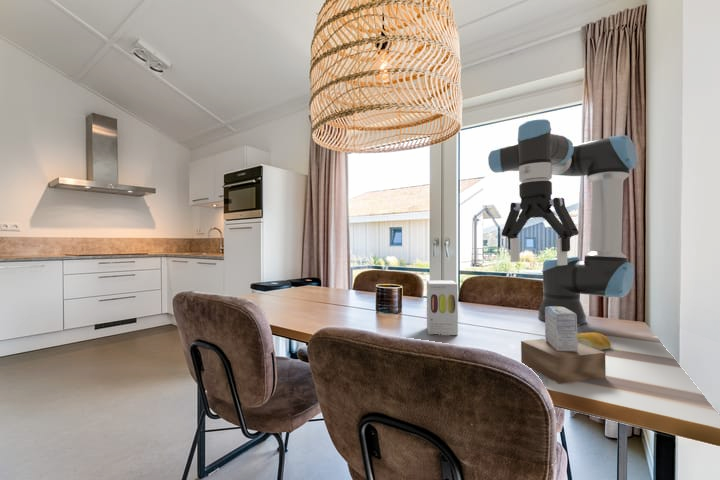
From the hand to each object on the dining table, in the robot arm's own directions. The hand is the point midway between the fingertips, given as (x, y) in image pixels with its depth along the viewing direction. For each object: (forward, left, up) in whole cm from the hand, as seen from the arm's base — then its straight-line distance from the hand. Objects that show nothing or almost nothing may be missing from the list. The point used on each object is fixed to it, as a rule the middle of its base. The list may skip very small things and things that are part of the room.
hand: (537, 263), depth 88 cm
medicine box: (+3, +9, -19) cm, 21 cm away
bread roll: (-20, +1, -25) cm, 32 cm away
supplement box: (+8, -30, -25) cm, 40 cm away
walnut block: (+3, +9, -25) cm, 26 cm away
